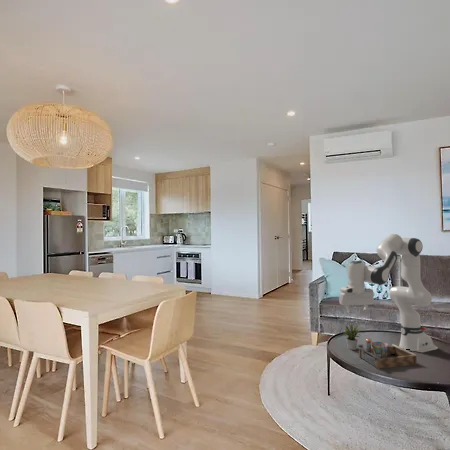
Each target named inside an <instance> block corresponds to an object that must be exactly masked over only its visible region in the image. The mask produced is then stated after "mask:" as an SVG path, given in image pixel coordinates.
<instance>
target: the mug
mask: <svg viewBox="0 0 450 450" xmlns="http://www.w3.org/2000/svg"><path fill="white" fill-rule="evenodd" d="M388 346H390V345H389V343H387V342H382V341H373V342H371V348H373V351H374V354H381V358H388V357H387V356H388V355H386V353H387V348H388Z"/></svg>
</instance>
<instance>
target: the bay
mask: <svg viewBox="0 0 450 450" xmlns="http://www.w3.org/2000/svg"><path fill="white" fill-rule="evenodd" d="M364 348H365V347H364ZM365 349H366V350H367V347H366V348H365ZM361 352H362V350H361V349H360V348H358V358H359V359H362V358H361ZM371 352H372V353H374V351H373V347H371ZM365 353H366V354H368V353H367V352H365ZM391 354H395V356H392V355H391ZM368 355H369V356H371V357H373V356H372V355H370V354H368ZM386 355H387V356H390V355H391V357H387V358H381V359H376V367H375V369H377V370H379V369H380V368H381V369H388V368H389V369H390V368H397V367H405V366H406V367H407V366H412V365H413V366H417V364H418V363H417V362H418V361H417V354H415V353H413V352H411V351H410V350H406V349H403V348H401V347H399V345H396V344H394V343H392V344H391V345H389V346H388V348H387V353H386ZM396 355H397V356H396Z"/></svg>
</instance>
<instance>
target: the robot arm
mask: <svg viewBox="0 0 450 450" xmlns="http://www.w3.org/2000/svg"><path fill="white" fill-rule="evenodd" d="M422 251H423V242H422V241H421V239H419V238H417V237H401V235H399V234H398V233H391V234H389V235H388V236H387V235H386V237H385V238H384V239H382V240H381V241H380V243H378V246H377V247H376V254H377V256H378V257H379V258H380V259H381V260H382V261H383V263H382V264H381V265H380V266H370V265H366V264H364V262H363V261H361V260H352V261H350V262H349V263H348V268H347V270H348V273H347V275H348V276H347V277H348V284H347V285H344V286H342V287H340V288H339V290H340V293H339V299H338V300H339V301H338V302H339V303H338V304H340V306H345V308H346V311H347V314H351V313H352V309H350V306H363V308H362V313H363V314H364V313H367V309H368V308H369V306H370V305H374V303H375V300H374V299H375V298H374V291H373V289H372V288H365V287H366V286H365V283H370V284H375V285H380V286H382V285H385V284H386V283H387V282H388V281H389V278H390V274H391V273H392V270H393V269H394V266H395V264H396V263H397V260H398V255H400V256H402V257H401V265H400V277H401V279H402V280H403V281H405V282H406V283H407V285H408V286H399V285H397V286H392V287H391V288H390V289H389V292H388V295H389V298H390V300H391V301H392V302H394V303H395V305H396V307H397V309H398V310H399V316H400V329H399V330H400V341H399V344H398V346H399V347H401V348H404V349H405V350H406V349H410V350H409V352H411V351H412V352H418V353H427V352H431V351H435V350H438V349H439V347H438V346H437V345H435V344H434V342H433V339H432V337H430V336H429V335H428V334H426V333H425V332H424V331H427V327H425V326H421V314H420V313H419V312H418V311H416V309H415V308H413V306H417V307H427V306H429V305H430V304H431V303H432V299H433V298H432V293H430V291H429V290H427V289H426V287H425V286H424V284H423V281H422V279H421V266H422V265H421V257H420V254H421V253H422Z"/></svg>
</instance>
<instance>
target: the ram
mask: <svg viewBox="0 0 450 450" xmlns="http://www.w3.org/2000/svg"><path fill="white" fill-rule="evenodd" d="M365 342H366V343H365V344H366V348H367V350H366V349H365V347H364V344H362V343H361V344H357V348H358V349H361V350H362V352H361V358H360V359H363V360H364V361H366V362H368V363H370V364H371V365H372V366H374V367H375V368H376V359H381V354H374V353H372V352H371V348H372V345H371V343H372V339H371V338H365ZM365 352H367V353H368V354H370V355H372V356H373V357H371V356H369V355H368V354H366V353H365Z"/></svg>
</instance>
